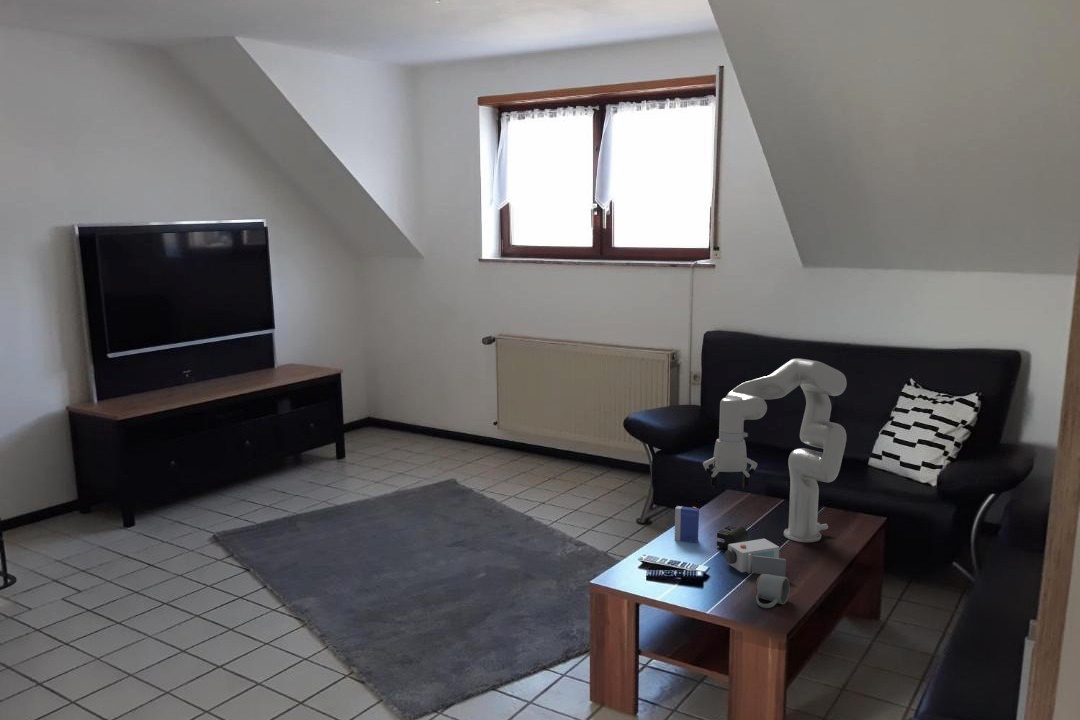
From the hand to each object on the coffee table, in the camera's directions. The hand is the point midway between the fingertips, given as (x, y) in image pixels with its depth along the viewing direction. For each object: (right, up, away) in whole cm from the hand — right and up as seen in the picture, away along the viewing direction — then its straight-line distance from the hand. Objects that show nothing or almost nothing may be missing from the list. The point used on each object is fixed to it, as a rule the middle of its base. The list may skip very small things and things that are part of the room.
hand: (729, 488), depth 276 cm
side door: (+10, -26, -6) cm, 29 cm away
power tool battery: (+5, -23, +16) cm, 29 cm away
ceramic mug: (+7, -30, -25) cm, 40 cm away
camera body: (+8, -25, +2) cm, 26 cm away
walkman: (-10, -22, +23) cm, 34 cm away
